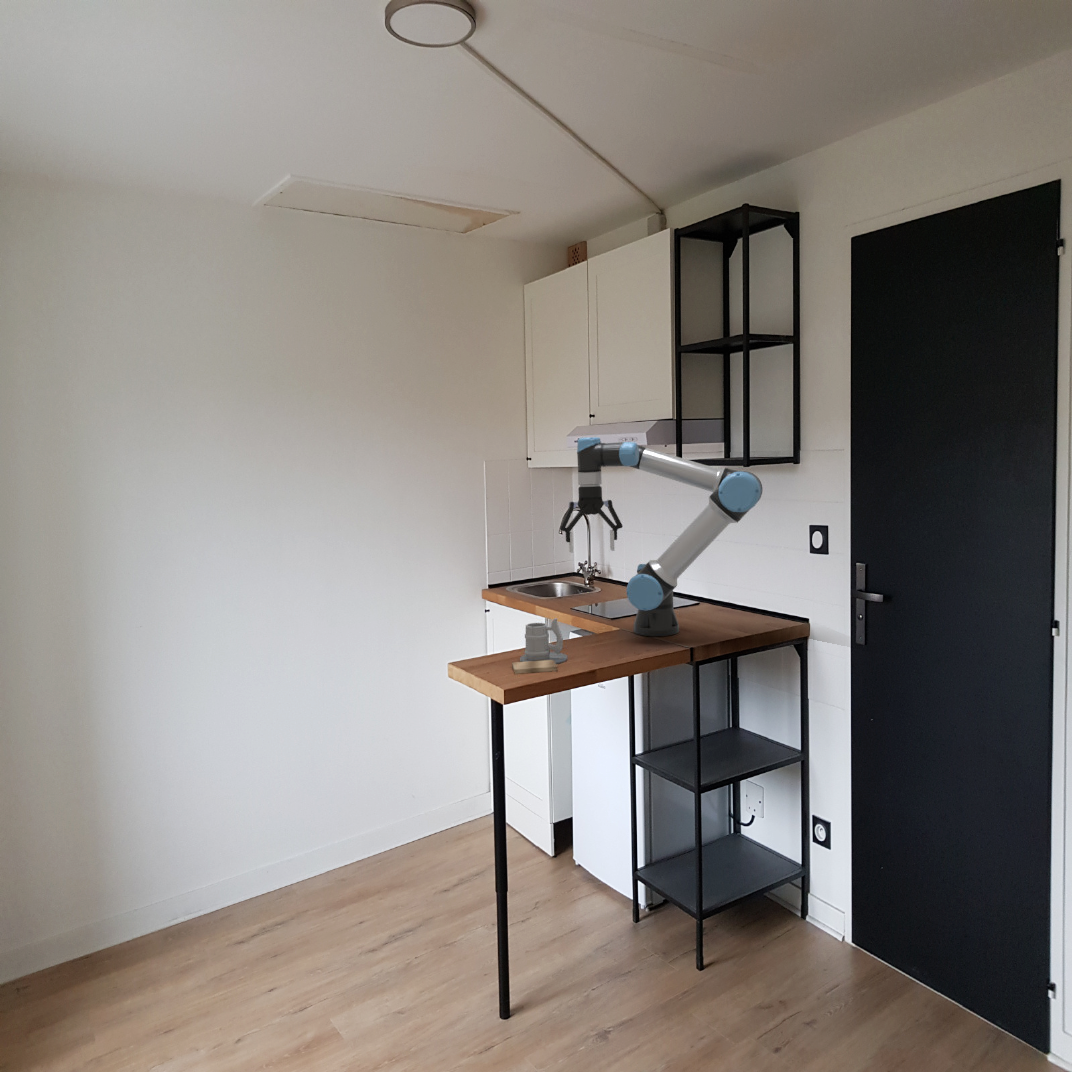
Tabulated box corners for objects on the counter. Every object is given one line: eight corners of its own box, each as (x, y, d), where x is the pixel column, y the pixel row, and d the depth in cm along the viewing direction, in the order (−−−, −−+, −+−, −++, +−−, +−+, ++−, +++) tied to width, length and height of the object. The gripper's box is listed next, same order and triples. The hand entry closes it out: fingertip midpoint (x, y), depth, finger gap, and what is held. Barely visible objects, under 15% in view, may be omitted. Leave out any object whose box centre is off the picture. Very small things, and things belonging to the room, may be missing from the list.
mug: (528, 654, 242) (527, 614, 241) (566, 655, 238) (565, 615, 237) (521, 660, 235) (519, 619, 233) (560, 661, 231) (558, 620, 230)
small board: (553, 663, 232) (553, 659, 231) (557, 670, 224) (557, 666, 224) (512, 666, 230) (511, 662, 230) (514, 673, 222) (514, 669, 222)
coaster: (563, 652, 245) (563, 650, 245) (571, 663, 231) (571, 661, 231) (517, 655, 243) (517, 653, 243) (522, 666, 229) (522, 664, 229)
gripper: (625, 484, 263) (626, 548, 265) (549, 486, 260) (552, 551, 262) (630, 484, 256) (632, 550, 258) (553, 487, 253) (555, 554, 255)
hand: (591, 551), depth 260 cm, fingers open, 13 cm apart
